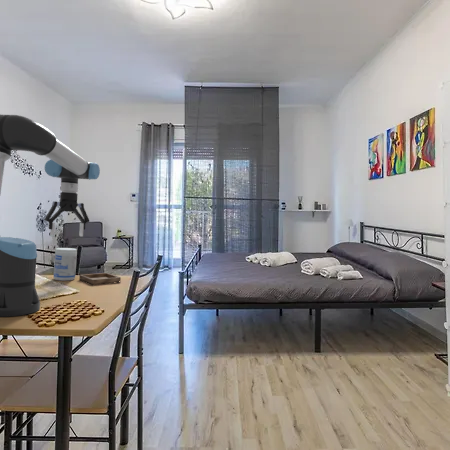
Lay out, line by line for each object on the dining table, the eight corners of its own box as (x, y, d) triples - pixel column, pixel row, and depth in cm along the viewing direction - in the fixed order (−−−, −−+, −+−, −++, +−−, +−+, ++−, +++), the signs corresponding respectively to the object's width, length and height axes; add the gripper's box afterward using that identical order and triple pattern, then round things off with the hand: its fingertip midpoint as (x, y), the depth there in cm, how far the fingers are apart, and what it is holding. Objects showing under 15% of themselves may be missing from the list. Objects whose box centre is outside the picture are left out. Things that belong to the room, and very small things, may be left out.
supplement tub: (51, 280, 163) (52, 249, 162) (56, 277, 172) (57, 247, 172) (73, 281, 165) (75, 250, 165) (77, 277, 174) (78, 248, 174)
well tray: (92, 285, 159) (92, 279, 159) (79, 280, 169) (79, 274, 169) (120, 282, 169) (120, 277, 169) (106, 277, 179) (106, 272, 179)
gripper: (44, 189, 156) (41, 237, 157) (97, 194, 174) (95, 236, 175) (38, 189, 161) (36, 235, 162) (91, 194, 179) (88, 235, 180)
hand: (67, 236), depth 168 cm, fingers open, 13 cm apart
